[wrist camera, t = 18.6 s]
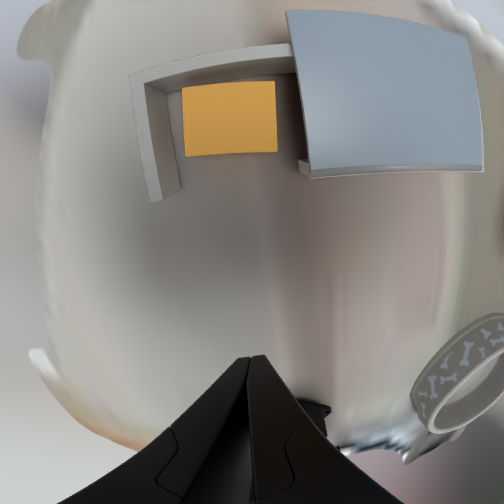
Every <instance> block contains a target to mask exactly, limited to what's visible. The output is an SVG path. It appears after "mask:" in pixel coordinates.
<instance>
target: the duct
mask: <svg viewBox="0 0 504 504" xmlns="http://www.w3.org/2000/svg"><path fill="white" fill-rule="evenodd" d="M283 73H296V68H295V62H294V57H293V51H292V46H291V43H287V44H273V45H262V46H253V47H245V48H237V49H231V50H225V51H219V52H214V53H208V54H203V55H199V56H194V57H190V58H186V59H181V60H178V61H174V62H170V63H166V64H163V65H159V66H156V67H153V68H149V69H146V70H143V71H140V72H137V73H134V74H131V75H129V77H130V87H131V95H132V104H133V111H134V118H135V125H136V132H137V138H138V144H139V150H140V156H141V161H142V167H143V172H144V177H145V182H146V187H147V192H148V196H149V201H150V203H153V202H158V201H163V200H165V199H166V198H168V197H169V196H171V195H172V194H174V193H175V192H177V191H178V190H180V189H181V185H180V180H179V175H178V169H177V164H176V158H175V152H174V146H173V140H172V134H171V128H170V121H169V115H168V108H167V101H166V93H170V92H174V91H178V90H182V88H185V87H192V86H200V85H205V84H210V83H215V82H221V81H226V80H232V79H239V78H246V77H254V76H262V75H272V74H283ZM474 76H475V75H474ZM475 81H476V80H475ZM476 88H477V85H476ZM477 94H478V91H477ZM478 102H479V97H478ZM479 111H480V104H479ZM480 121H481V112H480ZM481 136H482V167H483V169H482V171H410V172H484V151H483V133H482V122H481ZM298 165H299V172H301V173H302V174H304V175H305V176H307V177H308V178H310V179H316V178H327V177H339V176H351V175H339V176H327V177H316V178H311V177H310V172H309V161H308V159H298ZM385 173H407V172H385ZM367 174H384V173H367ZM352 175H366V174H352Z"/></svg>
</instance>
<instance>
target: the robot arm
mask: <svg viewBox="0 0 504 504" xmlns="http://www.w3.org/2000/svg"><path fill="white" fill-rule="evenodd" d="M330 413H331V408H330V407H327V406H322V405H318V404H314V403H309V402H305V401H301V400H298V399H295V397H294V396H293V394H292V393H291V392H290V390H289V389H288V387H287V386H286V385H285V383H284V382H283V380H282V379H281V378H280V376H279V375H278V373H277V372H276V370H275V369H274V368H273V366H272V365H271V363H270V362H269V360H268V359H267V357H266V356H265V355H257V356H252V357H242V358H238V359H236V360H235V361H234V362H233V364H232V365H231V366H230V367H229V368H228V369H227V370H226V371H225V372H224V373H223V374H222V375H221V376H220V377H219V378H218V379H217V380H216V381H215V382H214V383H213V384H212V385H211V386H210V387H209V388H208V389H207V390H206V391H205V392H204V393H203V394H202V395H201V396H200V397H199V398H198V399H197V400H196V401H195V402H194V403H193V404H192V405H191V406H190V407H189V408H188V409H187V410H186V411H185V412H184V413H183V414H182V415H181V416H180V417H179V418H178V419H177V420H176V421H175V422H174V423H172V424H171V425H170V427H171V428H170V427H168V428H167V429H165V430H164V431H163V432H162V433H161V434H160V435H159V436H158V437H157V438H155V439H154V440H153V441H152V442H151V443H150V444H148V445H147V446H146V447H145V448H143V449H142V450H141V451H139V452H138V453H137V454H135V455H134V456H133V457H131V458H130V459H128V460H127V461H126V462H124V463H123V464H121V465H120V466H118V467H117V468H115V469H114V470H112V471H111V472H109V473H108V474H106V475H104V476H103V477H102V478H100V479H98V480H97V481H95V482H93V483H92V484H90V485H89V486H87V487H86V488H84V489H82V490H80V491H79V492H77V493H75V494H73V495H72V496H70V497H68V498H66V499H65V500H63V501H61V502H59V503H57V504H404V503H403V502H401V501H400V500H399V499H397V498H396V497H395V496H393V495H392V494H391V493H389V492H388V491H387V490H385V489H384V488H383V487H382V486H380V485H379V484H378V483H377V482H375V481H374V480H373V479H372V478H370V477H369V476H368V475H367V474H366V473H364V472H363V471H362V470H361V469H359V468H358V467H357V466H356V465H355V464H354V463H353V462H351V461H350V460H349V459H348V458H347V457H346V456H344V455H343V454H342V453H341V451H340V448H339V446H336V447H335V446H334V445H333V444H332V443H331V442H330V441H329V440H328V439H327V438H326V437H327V430H326V425H325V420H324V418H325V417H326V416H328V415H329V414H330Z"/></svg>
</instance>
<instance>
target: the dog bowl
mask: <svg viewBox="0 0 504 504" xmlns="http://www.w3.org/2000/svg"><path fill="white" fill-rule="evenodd" d="M503 394H504V313H492V314H488V315H485V316H483V317H481V318H479V319H477V320H475V321H474V322H472V323H470V324H469V325H467V326H466V327H465V328H463V329H462V330H461V331H459V332H458V333H457V334H456V335H455V336H453V337H452V338H451V339H450V340H449V341H448V342H447V343H446V344H445V345H444V346H443V347H442V348H441V349H440V350H439V351H438V352H437V353H436V354H435V355H434V356H433V358H432V359H431V360H430V361H429V362H428V364H427V365H426V366H425V368H424V369H423V370H422V372H421V373H420V375H419V376H418V378H417V380H416V381H415V383H414V385H413V387H412V390H411V393H410V396H411V398H412V399H413V402H414V404H415V407H416V410H417V414H418V417H419V419H420V421H421V422H422V423H423V424H424V425H425V426H426V428H427V429H428V430H429V431H430V432H432V433H436V434H441V433H446V432H450V431H453V430H456V429H458V428H460V427H462V426H464V425H466V424H468V423H469V422H471V421H473V420H474V419H476V418H477V417H478V416H480V415H481V414H482V413H484V412H485V411H486V410H488V408H490V407H491V406H492V405H493V404H494V403H495V402H496V401H497V400H498V399H499V398H500V397H501V396H502V395H503Z"/></svg>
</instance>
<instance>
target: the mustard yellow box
mask: <svg viewBox="0 0 504 504" xmlns="http://www.w3.org/2000/svg"><path fill="white" fill-rule="evenodd" d="M182 105H183V128H184V145H185V157H190V156H201V155H214V154H229V153H249V152H277V123H276V99H275V81H254V82H234V83H220V84H209V85H200V86H192V87H185V88H182Z"/></svg>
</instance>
